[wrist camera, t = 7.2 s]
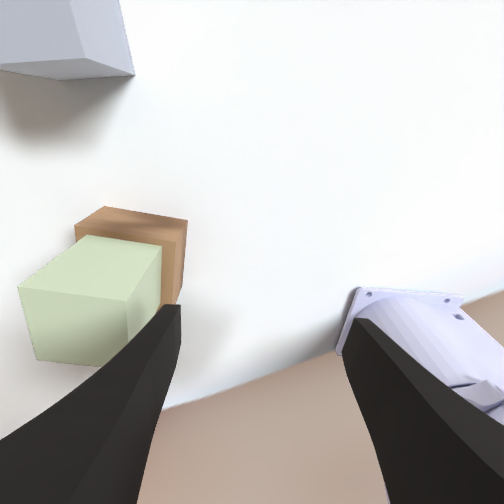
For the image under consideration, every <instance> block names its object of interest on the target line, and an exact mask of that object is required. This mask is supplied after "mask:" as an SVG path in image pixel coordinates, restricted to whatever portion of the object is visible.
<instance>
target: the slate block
mask: <svg viewBox="0 0 504 504" xmlns="http://www.w3.org/2000/svg"><path fill="white" fill-rule="evenodd" d="M0 70H4V71H9V72H15V73H21V74H26V75H32V76H37V77H43V78H49V79H54V80H73V79H88V78H102V77H117V76H131V75H135V71H134V66H133V62H132V57H131V53H130V48H129V44H128V39H127V35H126V30H125V26H124V21H123V17H122V12H121V7H120V3H119V0H0Z"/></svg>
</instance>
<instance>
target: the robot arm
mask: <svg viewBox="0 0 504 504" xmlns="http://www.w3.org/2000/svg"><path fill="white" fill-rule="evenodd" d="M368 292H370V293H369V294H367V293H368ZM445 299H446V300H445ZM462 302H463V298H462V297H461V296H460V295H454V294H442V293H430V292H418V291H406V290H394V289H382V288H370V287H360V288H358V289H357V291H356V293H355V296H354V299H353V301H352V304H351V307H350V310H349V313H348V315H347V318H346V321H345V324H344V327H343V329H342V332H341V335H340V338H339V341H338V343H337V346H336V349H335V352H336V354H337V355H338V356H342V357H343V361H344V366H345V370H346V373H347V377H348V379H349V382H350V385H351V387H352V390H353V393H354V395H355V398H356V400H357V403H358V405H359V408H360V410H361V413H362V415H363V418H364V421H365V423H366V425H367V428H368V431H369V433H370V436H371V439H372V442H373V444H374V447H375V451H376V454H377V458H378V461H379V465H380V468H381V471H382V475H383V478H384V482H385V491H386V496H387V500H388V504H504V348H503V347H502V346H501V345H500V344H499V343H498V342H497V341H496V340H495V339H493V338H492V337H491V336H490V335H489V334H488V333H487V332H486V331H484V329H482V328H481V327H480V326H479V325H478V324H477V323H476V322H475V321H474V320H473V319H471V318H470V317H469V316H468V315H467V314H466V313H465V312H464V311H463V310H462V309H461V308H459V307H460V306H461V304H462ZM180 345H181V305H175V304H164V305H163V306H162V307H161V308H160V309H159V310H158V312H157V313H156V314H155V315H154V316H153V317H152V318H151V320H150V321H149V322H148V323H147V324H146V325H145V326H144V327H143V328H142V329H141V330H140V331H139V332H138V333H137V334H136V335H135V337H134V338H133V339H132V340H131V341H130V342H129V343H128V344H127V345H126V346H124V347H123V348H122V349H121V350H120V351H119V352H118V353H117V354H116V355H115V356H114V357H113V358H112V359H111V360H109V361H108V362H107V363H106V364H105V365H104V366H103V367H102V368H100V369H99V370H98V371H97V372H96V373H94V374H93V375H92V376H91V377H90V378H88V379H87V380H86V381H85V382H83V383H82V384H81V385H80V386H78V387H77V388H76V389H74V390H73V391H72V392H70V393H69V394H68V395H66V396H65V397H64V398H62V399H61V400H60V401H58V402H57V403H55V404H54V405H53V406H51V407H50V408H48V409H47V410H46V411H44V412H43V413H41V414H40V415H38V416H37V417H35V418H34V419H32V420H30V421H29V422H27V423H26V424H24V425H23V426H21V427H20V428H18V429H17V430H15V431H14V432H12V433H11V434H9V435H8V436H6V437H4V438H3V439H1V440H0V504H137V500H138V495H139V491H140V487H141V483H142V478H143V474H144V470H145V466H146V462H147V458H148V454H149V449H150V445H151V441H152V438H153V434H154V431H155V427H156V424H157V421H158V418H159V415H160V412H161V409H162V406H163V403H164V400H165V397H166V395H167V392H168V389H169V386H170V383H171V380H172V377H173V374H174V371H175V368H176V364H177V359H178V355H179V350H180Z"/></svg>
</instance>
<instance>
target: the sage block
mask: <svg viewBox="0 0 504 504" xmlns="http://www.w3.org/2000/svg"><path fill="white" fill-rule="evenodd" d="M161 265H162V246H159V245H152V244H146V243H139V242H133V241H126V240H120V239H113V238H106V237H100V236H93V235H86V236H84V237H83V238H82V239H80V240H79V241H78V242H76V243H75V244H74V245H72V246H71V247H69V248H68V249H67V250H65V251H64V252H63V253H61V254H60V255H59V256H57V257H56V258H55V259H53V260H52V261H51V262H49V263H48V264H47V265H45V266H44V267H43V268H41V269H40V270H39V271H37V272H36V273H35V274H33V275H32V276H31V277H29V278H28V279H27V280H25V281H24V282H23V283H21V284H20V285H19V286H17V288H18V292H19V295H20V299H21V303H22V307H23V310H24V314H25V318H26V321H27V325H28V329H29V333H30V336H31V340H32V344H33V348H34V351H35V355H36V359H37V360H42V361H51V362H60V363H69V364H79V365H88V366H97V367H103V366H104V365H105V364H106V363H107V362H108V361H109V360H111V359H112V358H113V357H114V356H115V355H116V354H117V353H118V352H119V351H120V350H121V349H122V348H123V347H124V346H126V345H127V344H128V343H129V342H130V341H131V340H132V339H133V338H134V337H135V335H136V334H137V333H138V332H139V331H140V330H141V329H142V328H143V327H144V326H145V325H146V324H147V323H148V322H149V321H150V320H151V318H152V317H153V316H154V315H155V313H156V311H157V309H158V307H159V305H160V296H161Z"/></svg>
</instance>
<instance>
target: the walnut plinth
mask: <svg viewBox="0 0 504 504" xmlns="http://www.w3.org/2000/svg"><path fill="white" fill-rule="evenodd" d="M187 223H188V220H183V219H177V218H171V217H165V216H160V215H154V214H148V213H142V212H136V211H130V210H124V209H118V208H113V207H107V206H104V207H102V208H100V209H99V210H97V211H96V212H94V213H93V214H91V215H90V216H88V217H87V218H85V219H84V220H82V221H81V222H79V223H77V224H76V225H74V228H75V236H76V242H78V241H79V240H80V239H82V238H83V237H84V236H86V235H93V236H100V237H106V238H113V239H120V240H126V241H133V242H139V243H146V244H152V245H159V246H162V265H161V296H160V305H159V307H158V309H157V311H156V313H157V312H158V310H159V309H160V308H161V307H162V306H163V305H164V304H176V301H177V298H178V296H179V293H180V290H181V287H182V281H183V270H184V258H185V247H186V235H187ZM156 313H155V314H156Z"/></svg>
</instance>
